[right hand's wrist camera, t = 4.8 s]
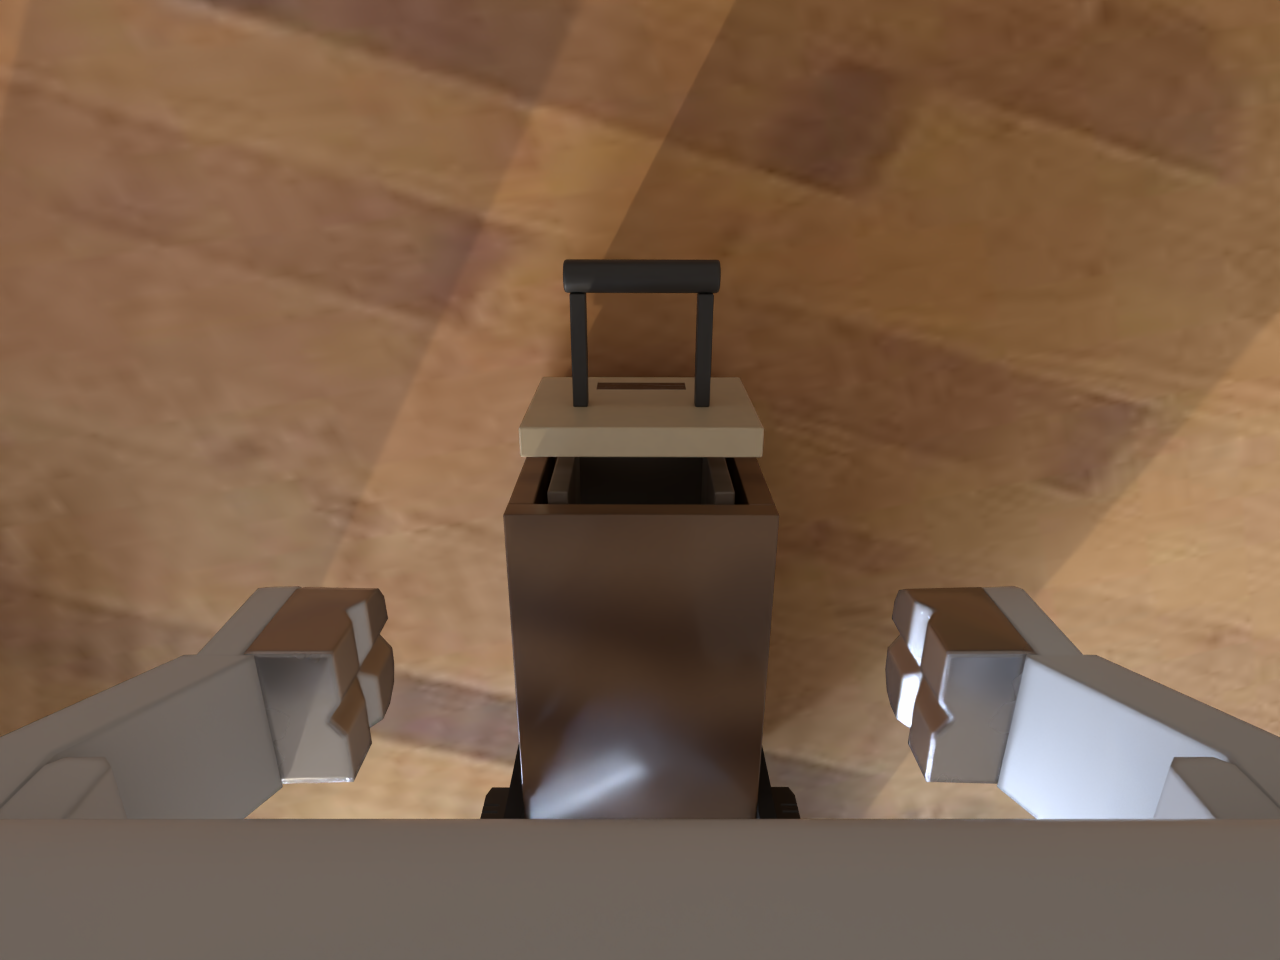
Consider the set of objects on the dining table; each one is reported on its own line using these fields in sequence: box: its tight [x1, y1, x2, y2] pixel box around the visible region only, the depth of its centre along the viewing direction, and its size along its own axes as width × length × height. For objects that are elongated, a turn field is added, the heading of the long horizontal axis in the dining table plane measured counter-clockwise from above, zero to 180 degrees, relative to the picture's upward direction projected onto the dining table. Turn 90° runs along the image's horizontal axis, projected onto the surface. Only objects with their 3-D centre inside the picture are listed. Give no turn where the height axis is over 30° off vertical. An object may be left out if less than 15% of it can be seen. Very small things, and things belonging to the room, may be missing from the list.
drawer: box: [519, 260, 764, 505], centre depth 35 cm, size 24×9×8 cm, turn 0°
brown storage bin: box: [503, 457, 779, 819], centre depth 37 cm, size 20×10×10 cm, turn 0°
